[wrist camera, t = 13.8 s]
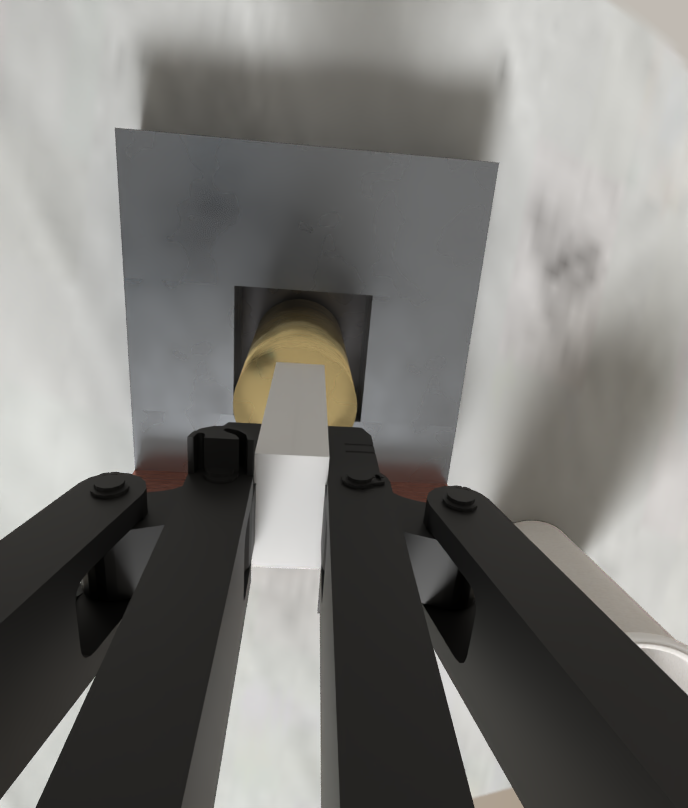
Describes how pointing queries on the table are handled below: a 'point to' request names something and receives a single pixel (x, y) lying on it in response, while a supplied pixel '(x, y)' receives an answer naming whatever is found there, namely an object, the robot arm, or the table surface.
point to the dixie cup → (611, 599)
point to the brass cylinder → (296, 360)
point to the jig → (299, 284)
